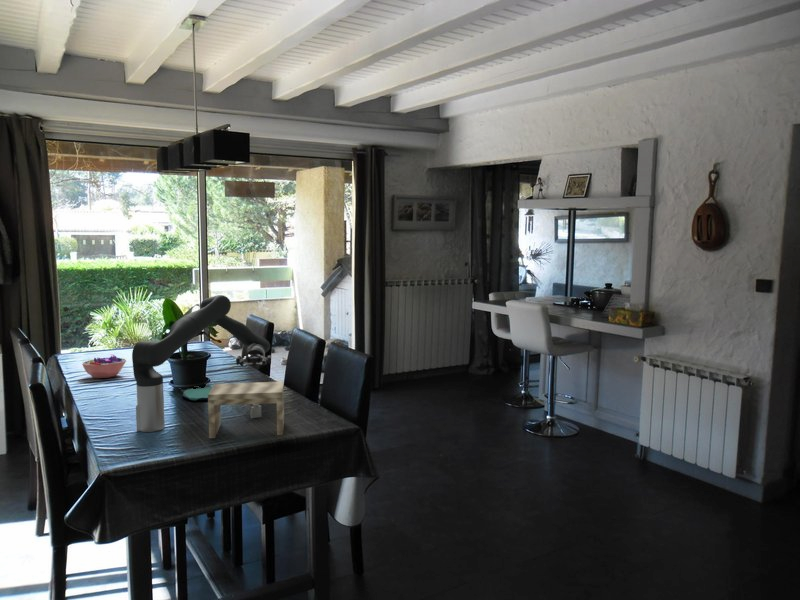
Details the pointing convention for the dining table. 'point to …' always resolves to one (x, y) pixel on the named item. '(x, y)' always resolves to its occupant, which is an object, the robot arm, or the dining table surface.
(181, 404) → the dining table surface
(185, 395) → the teal flat tray
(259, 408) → the lighter
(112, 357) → the cell model
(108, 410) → the dining table surface
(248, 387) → the small wooden stool
